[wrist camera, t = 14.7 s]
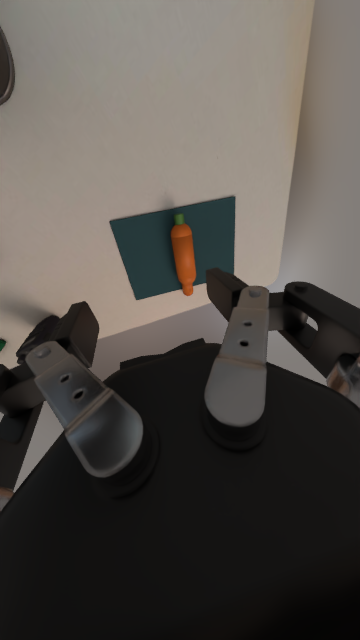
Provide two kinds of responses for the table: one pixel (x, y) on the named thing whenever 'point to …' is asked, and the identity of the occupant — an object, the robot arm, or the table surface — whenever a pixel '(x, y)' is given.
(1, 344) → the gaming controller
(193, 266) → the carrot
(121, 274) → the table surface
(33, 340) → the two-way radio
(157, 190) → the table surface
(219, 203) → the cloth
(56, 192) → the table surface
